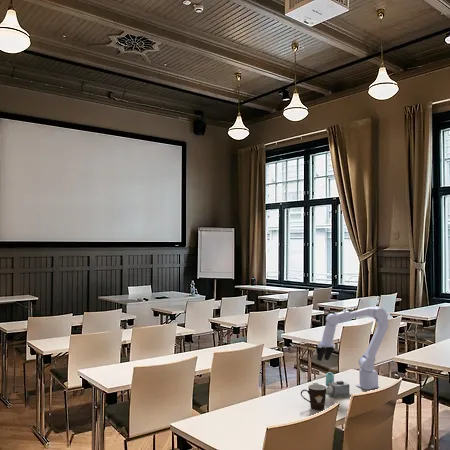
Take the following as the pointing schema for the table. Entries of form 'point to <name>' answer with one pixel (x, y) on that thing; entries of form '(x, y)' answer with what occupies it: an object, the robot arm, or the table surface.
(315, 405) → the coffee mug
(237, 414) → the table surface
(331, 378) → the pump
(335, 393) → the motor
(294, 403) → the table surface
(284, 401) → the table surface
